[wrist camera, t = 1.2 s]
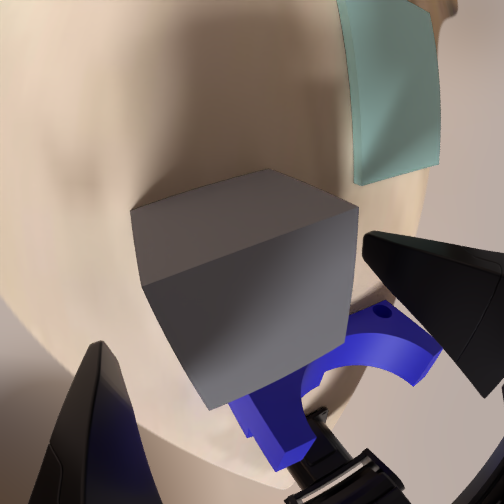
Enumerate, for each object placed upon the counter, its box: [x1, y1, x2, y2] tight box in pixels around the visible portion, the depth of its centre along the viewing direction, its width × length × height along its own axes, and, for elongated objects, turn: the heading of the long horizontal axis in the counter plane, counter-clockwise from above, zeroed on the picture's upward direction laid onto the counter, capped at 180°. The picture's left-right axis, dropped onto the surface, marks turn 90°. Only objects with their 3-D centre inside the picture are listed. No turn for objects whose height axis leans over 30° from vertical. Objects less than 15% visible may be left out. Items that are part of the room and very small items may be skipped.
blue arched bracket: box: [228, 300, 443, 472], centre depth 14 cm, size 12×4×6 cm, turn 86°
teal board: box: [337, 0, 441, 186], centre depth 10 cm, size 10×8×1 cm
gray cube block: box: [130, 169, 359, 411], centre depth 8 cm, size 5×5×4 cm
